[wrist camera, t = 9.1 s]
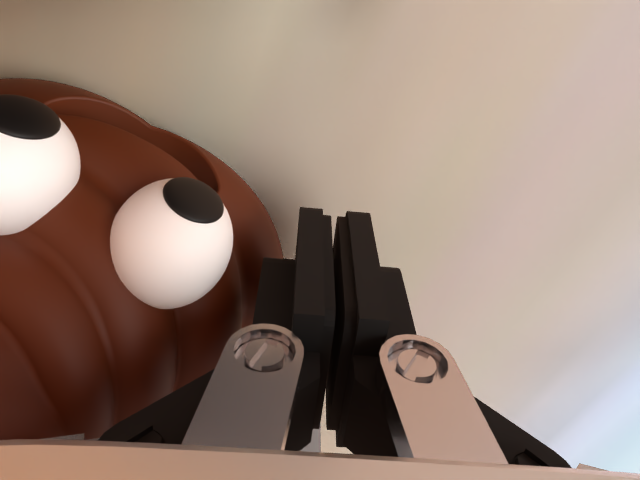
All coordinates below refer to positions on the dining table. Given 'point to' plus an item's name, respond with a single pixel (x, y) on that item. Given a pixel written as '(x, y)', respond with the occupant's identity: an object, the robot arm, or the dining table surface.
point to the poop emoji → (113, 260)
